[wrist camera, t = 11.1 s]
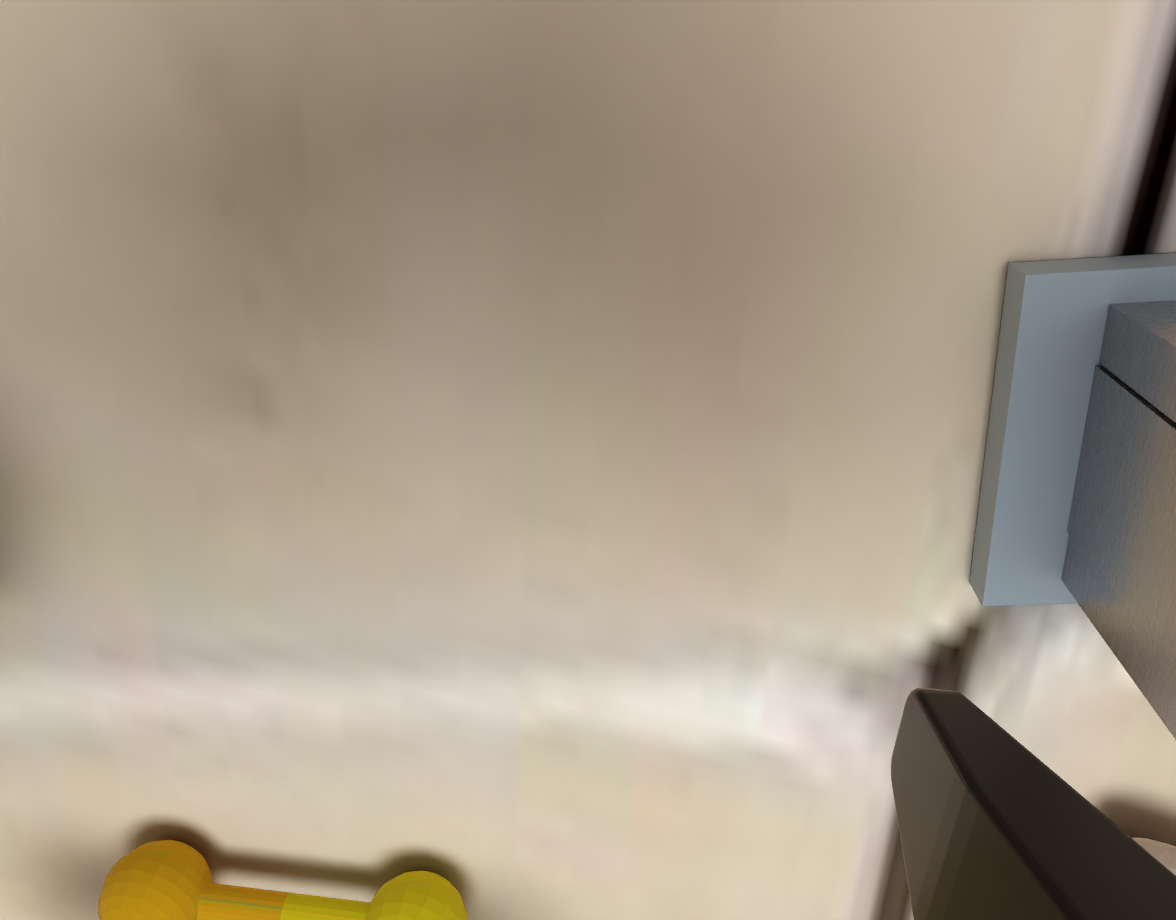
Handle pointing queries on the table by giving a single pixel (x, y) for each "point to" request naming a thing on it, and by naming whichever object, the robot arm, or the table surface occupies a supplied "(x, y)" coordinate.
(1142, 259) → the shaft stand
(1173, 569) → the open metal box
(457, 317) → the table surface
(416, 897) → the educational toy
